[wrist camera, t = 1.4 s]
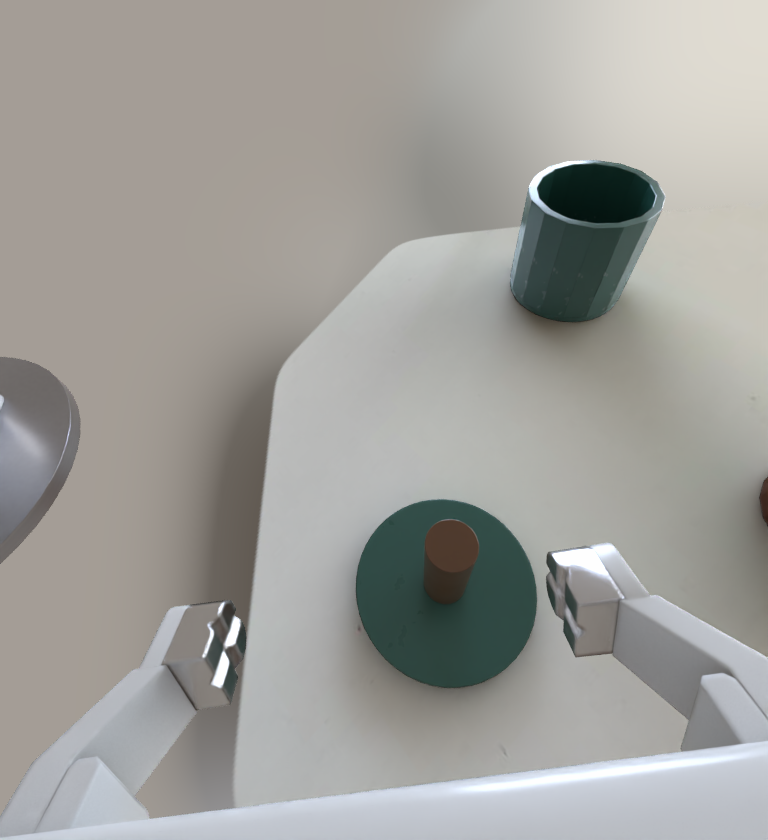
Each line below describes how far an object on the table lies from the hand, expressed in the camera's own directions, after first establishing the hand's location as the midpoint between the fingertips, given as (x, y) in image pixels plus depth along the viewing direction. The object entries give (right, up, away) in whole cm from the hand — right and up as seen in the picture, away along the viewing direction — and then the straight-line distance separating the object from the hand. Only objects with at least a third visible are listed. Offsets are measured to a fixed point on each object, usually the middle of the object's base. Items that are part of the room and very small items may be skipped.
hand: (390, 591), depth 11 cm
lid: (+4, -6, +16) cm, 18 cm away
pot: (+18, +18, +32) cm, 41 cm away
